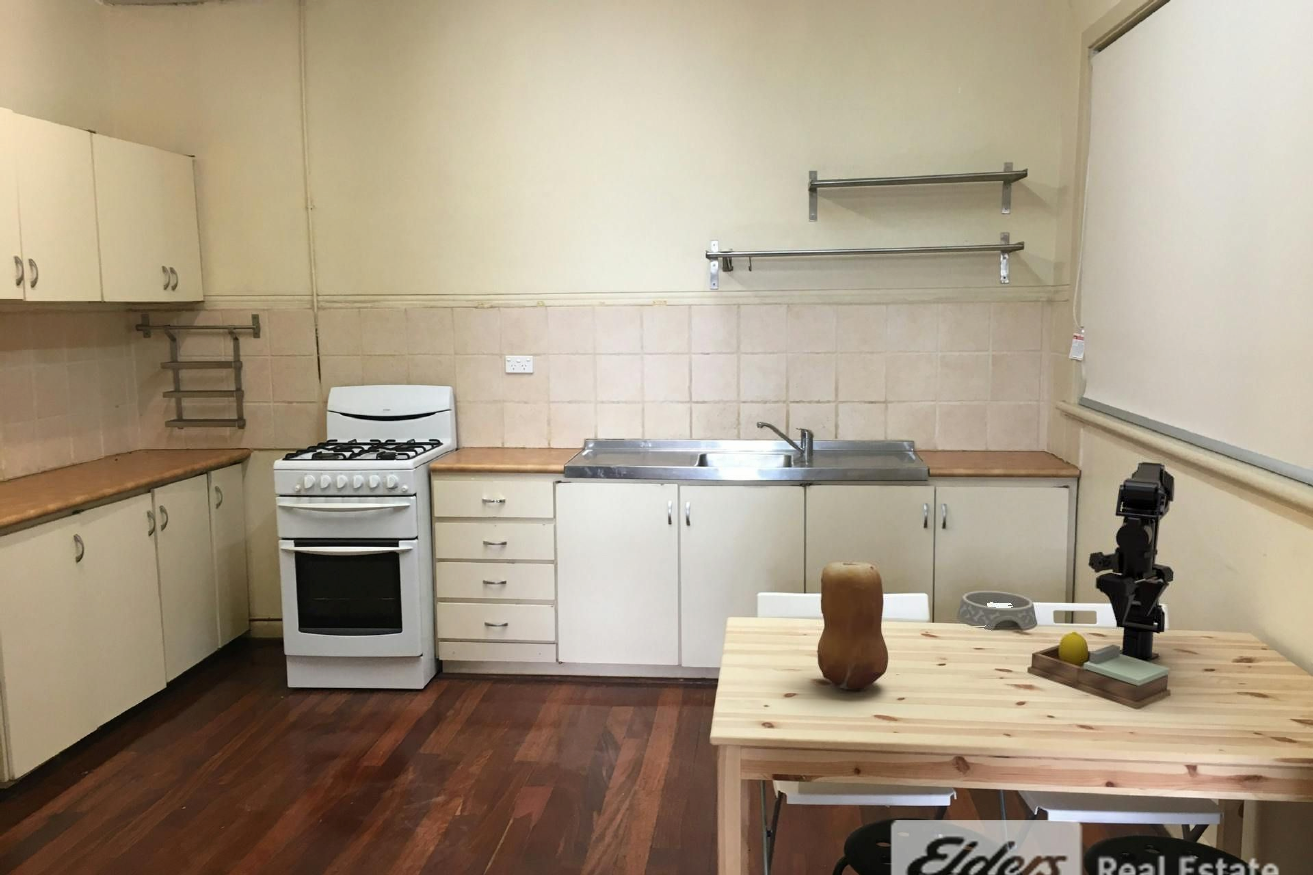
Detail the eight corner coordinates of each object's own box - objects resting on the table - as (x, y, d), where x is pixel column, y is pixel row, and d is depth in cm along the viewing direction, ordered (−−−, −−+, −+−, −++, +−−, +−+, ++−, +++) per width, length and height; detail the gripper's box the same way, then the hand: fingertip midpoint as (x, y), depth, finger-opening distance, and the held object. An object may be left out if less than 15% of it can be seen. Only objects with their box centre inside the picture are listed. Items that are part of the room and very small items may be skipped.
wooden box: (1027, 672, 203) (1028, 653, 202) (1061, 660, 209) (1062, 642, 209) (1136, 708, 184) (1138, 688, 183) (1170, 694, 191) (1171, 674, 190)
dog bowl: (948, 609, 246) (949, 588, 246) (1023, 610, 246) (1024, 589, 245) (967, 631, 229) (968, 608, 229) (1048, 632, 229) (1049, 610, 228)
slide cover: (1083, 668, 193) (1084, 653, 192) (1114, 657, 199) (1115, 642, 199) (1138, 685, 184) (1139, 670, 183) (1169, 673, 190) (1170, 658, 190)
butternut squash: (842, 670, 203) (846, 550, 200) (900, 687, 194) (905, 562, 191) (801, 687, 194) (804, 562, 190) (859, 707, 184) (863, 575, 181)
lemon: (1081, 665, 203) (1084, 628, 202) (1090, 675, 198) (1093, 636, 197) (1054, 664, 204) (1056, 627, 203) (1062, 674, 199) (1064, 635, 198)
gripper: (1123, 530, 208) (1119, 602, 210) (1072, 541, 197) (1068, 617, 199) (1177, 540, 199) (1171, 615, 201) (1126, 552, 188) (1121, 632, 190)
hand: (1132, 619), depth 198 cm, fingers open, 9 cm apart
